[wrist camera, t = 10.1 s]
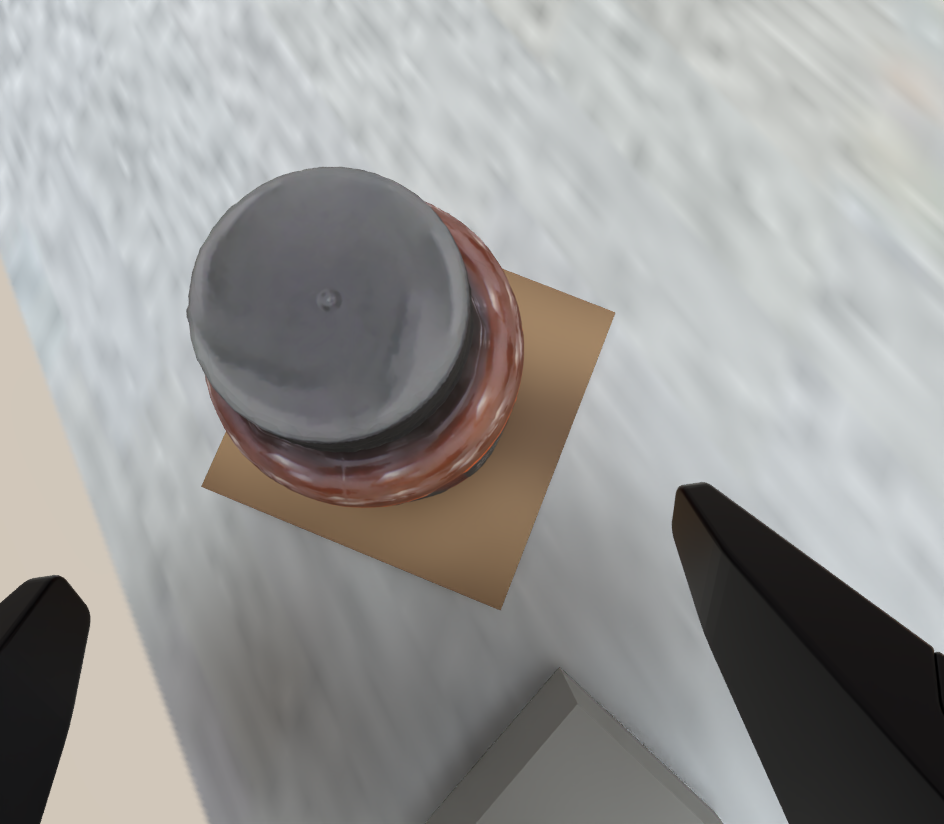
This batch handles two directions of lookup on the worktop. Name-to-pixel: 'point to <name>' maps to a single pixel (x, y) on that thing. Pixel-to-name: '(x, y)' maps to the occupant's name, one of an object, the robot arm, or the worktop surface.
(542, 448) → the walnut block
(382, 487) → the supplement bottle
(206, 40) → the worktop surface
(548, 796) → the slate block
